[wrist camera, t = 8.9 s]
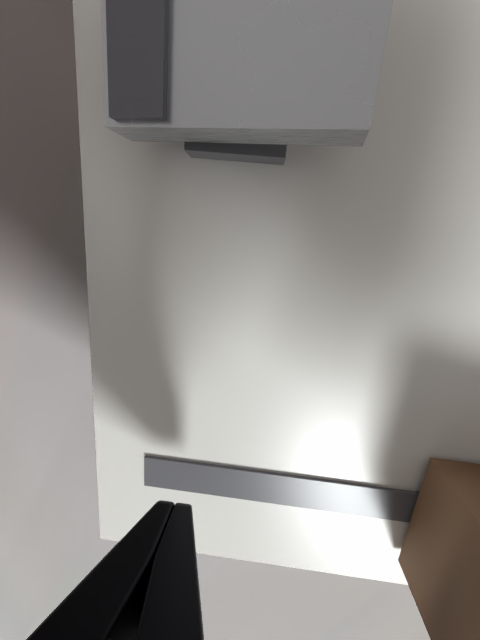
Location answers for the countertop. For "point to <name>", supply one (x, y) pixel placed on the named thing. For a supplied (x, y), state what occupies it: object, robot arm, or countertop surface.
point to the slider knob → (446, 550)
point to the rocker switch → (243, 70)
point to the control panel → (290, 312)
